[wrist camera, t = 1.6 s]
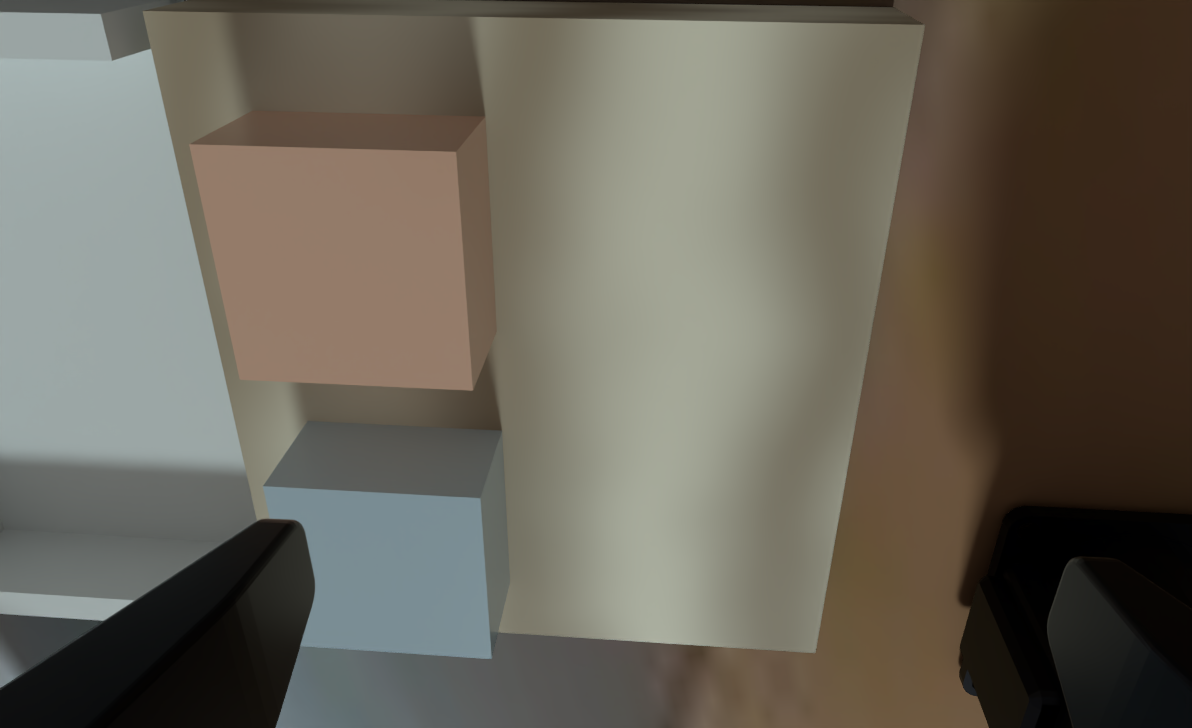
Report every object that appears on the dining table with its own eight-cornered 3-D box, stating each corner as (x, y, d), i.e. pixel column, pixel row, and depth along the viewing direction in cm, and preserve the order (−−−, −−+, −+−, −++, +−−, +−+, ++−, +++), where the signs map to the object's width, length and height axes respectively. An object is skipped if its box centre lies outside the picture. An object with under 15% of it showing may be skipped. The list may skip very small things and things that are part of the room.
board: (893, 7, 17) (925, 24, 15) (803, 584, 24) (815, 653, 22) (206, -5, 18) (142, 11, 16) (313, 554, 25) (278, 617, 23)
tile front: (485, 116, 16) (456, 151, 14) (496, 330, 19) (472, 390, 16) (252, 110, 17) (189, 144, 15) (290, 322, 19) (239, 379, 17)
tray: (183, -5, 18) (100, 13, 16) (296, 553, 25) (252, 630, 23) (-221, -12, 19) (-366, 5, 16) (1, 536, 26) (-75, 609, 23)
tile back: (502, 430, 20) (480, 497, 18) (510, 581, 22) (491, 659, 20) (307, 421, 20) (263, 486, 18) (334, 570, 22) (297, 645, 20)
